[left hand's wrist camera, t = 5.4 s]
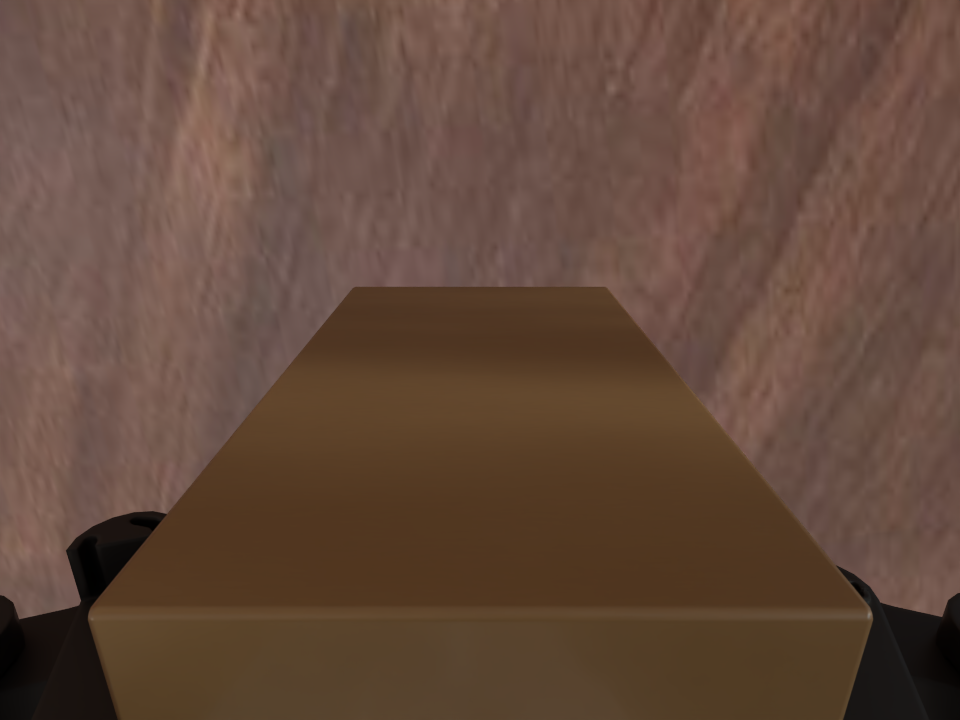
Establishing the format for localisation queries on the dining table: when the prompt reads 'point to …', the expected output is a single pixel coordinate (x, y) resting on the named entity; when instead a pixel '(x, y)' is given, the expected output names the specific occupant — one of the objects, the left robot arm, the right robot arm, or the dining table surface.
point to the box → (480, 538)
